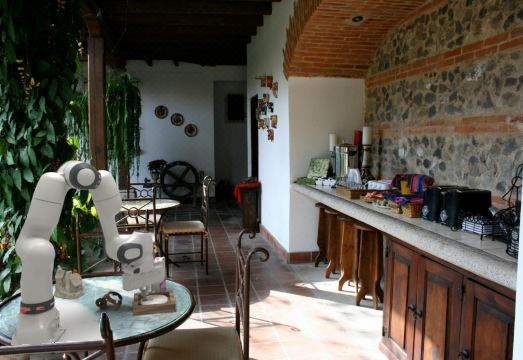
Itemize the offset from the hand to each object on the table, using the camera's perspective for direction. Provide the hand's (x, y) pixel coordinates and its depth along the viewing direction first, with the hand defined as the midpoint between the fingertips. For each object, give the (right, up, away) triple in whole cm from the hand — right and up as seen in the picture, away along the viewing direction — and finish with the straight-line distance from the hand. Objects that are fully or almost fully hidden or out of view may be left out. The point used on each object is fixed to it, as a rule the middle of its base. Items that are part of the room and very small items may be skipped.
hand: (144, 295), depth 206 cm
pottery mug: (-16, -5, -3) cm, 17 cm away
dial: (+4, -4, 0) cm, 6 cm away
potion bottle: (-13, -2, +24) cm, 28 cm away
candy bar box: (+2, -3, +16) cm, 17 cm away
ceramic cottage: (-40, -3, +17) cm, 43 cm away
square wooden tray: (+4, -5, 0) cm, 6 cm away
